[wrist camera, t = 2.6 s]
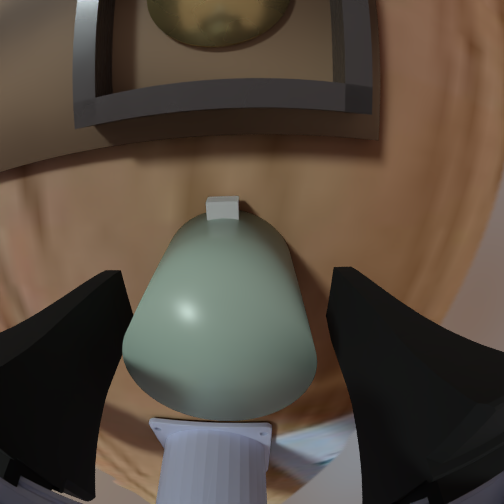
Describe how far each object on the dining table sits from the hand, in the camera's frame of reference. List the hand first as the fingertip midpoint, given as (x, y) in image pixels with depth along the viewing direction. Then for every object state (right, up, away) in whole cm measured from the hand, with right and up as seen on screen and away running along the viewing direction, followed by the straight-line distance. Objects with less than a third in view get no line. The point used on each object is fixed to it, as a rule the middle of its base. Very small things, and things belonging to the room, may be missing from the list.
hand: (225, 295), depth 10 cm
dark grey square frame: (0, +10, -3) cm, 10 cm away
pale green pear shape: (0, +1, +1) cm, 2 cm away
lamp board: (-3, +10, -4) cm, 12 cm away
